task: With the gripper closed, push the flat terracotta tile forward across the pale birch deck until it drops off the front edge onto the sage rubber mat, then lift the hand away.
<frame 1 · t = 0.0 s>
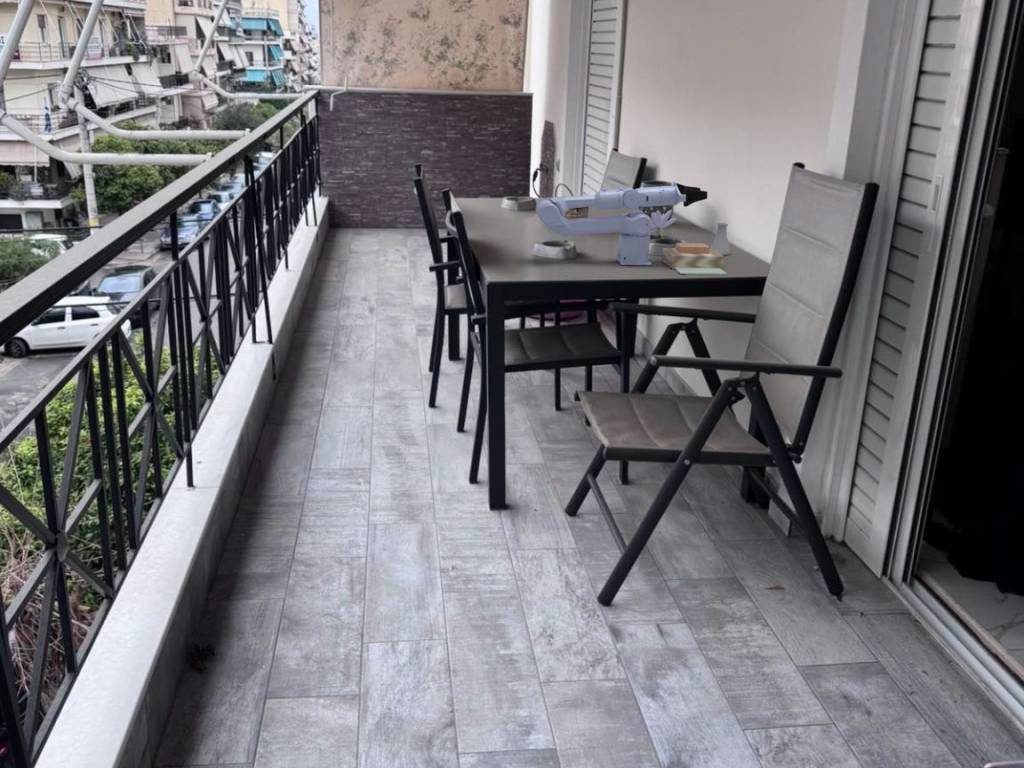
hand: (703, 193, 278), 22 cm above the table, tool horizontal, fingers open, 7 cm apart
mat: (700, 272, 274), on the table
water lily: (655, 238, 325), on the table
deck: (691, 265, 283), on the table
tile: (692, 251, 283), point 4 cm above the table, touching deck
flask: (719, 254, 301), on the table
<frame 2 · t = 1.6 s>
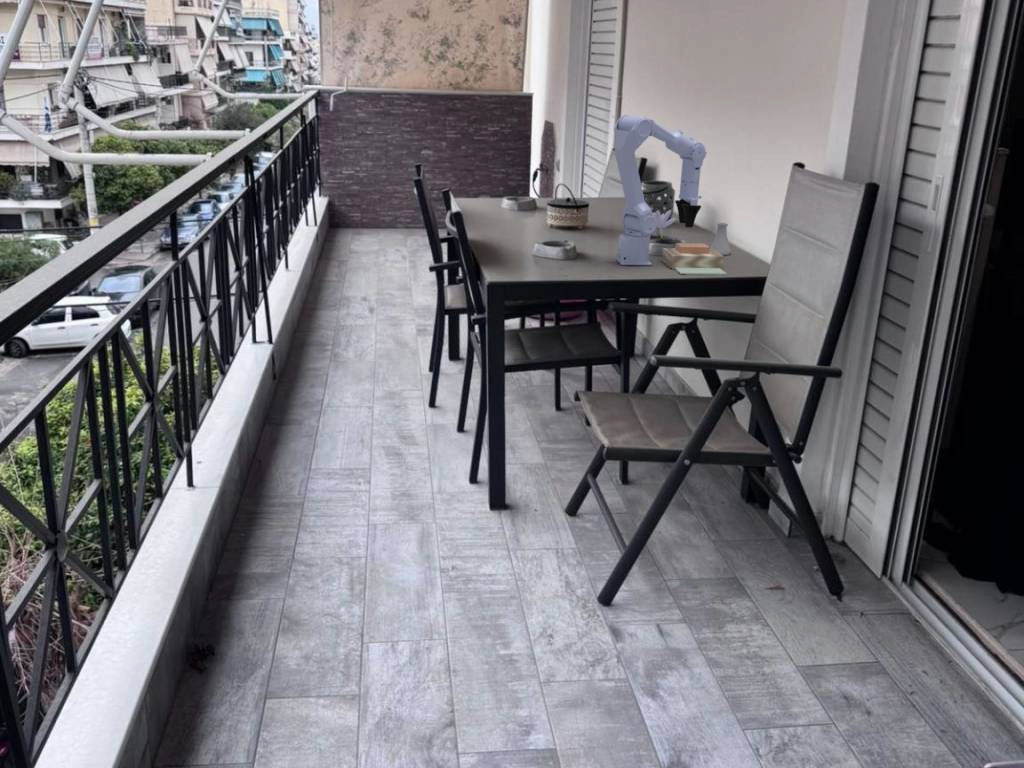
hand: (685, 225, 290), 10 cm above the table, tool pointing down, fingers open, 7 cm apart
nothing on the table moved.
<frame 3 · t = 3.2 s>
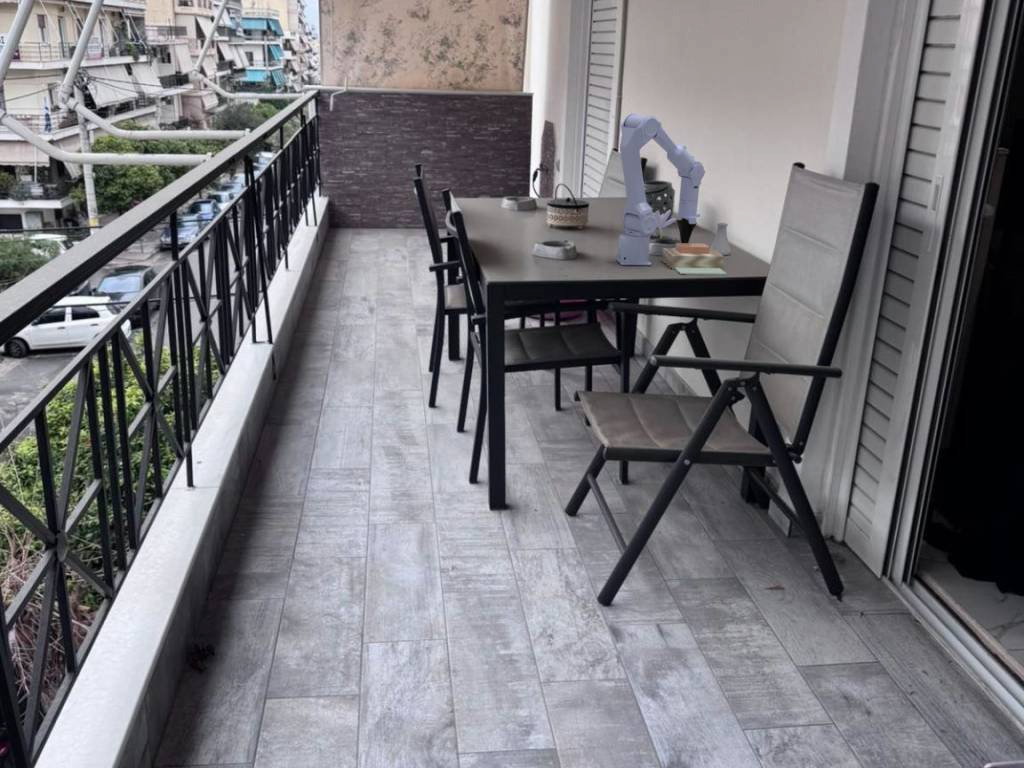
hand: (684, 243, 291), 5 cm above the table, tool pointing down, fingers closed
nothing on the table moved.
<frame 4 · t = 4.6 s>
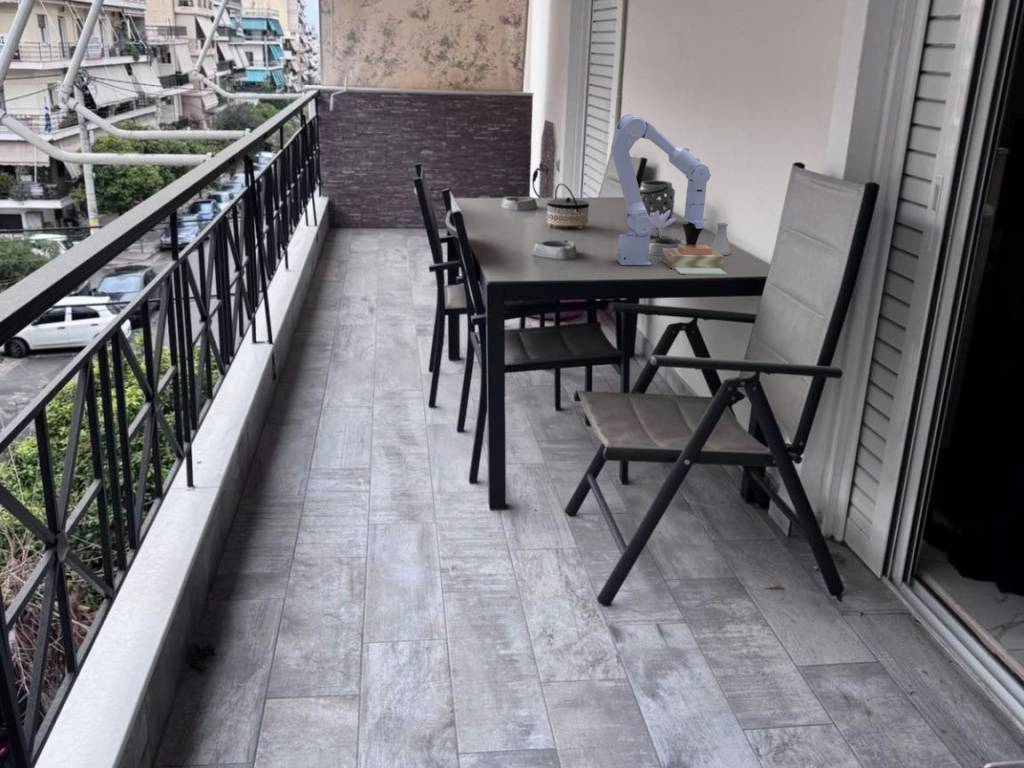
hand: (690, 247, 284), 5 cm above the table, tool pointing down, fingers closed
tile: (694, 252, 281), point 4 cm above the table, touching gripper
everything else where it was.
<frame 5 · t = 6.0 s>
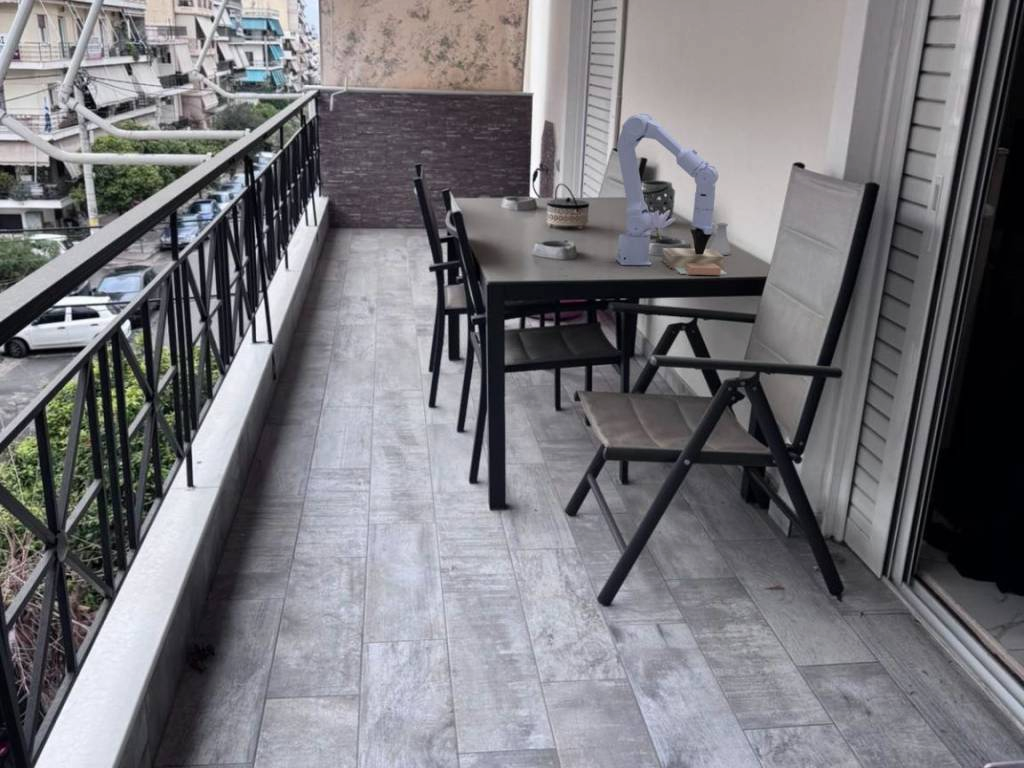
hand: (699, 254, 275), 5 cm above the table, tool pointing down, fingers closed
tile: (703, 265, 271), point 2 cm above the table, tilted 180°, touching mat
everything else where it was.
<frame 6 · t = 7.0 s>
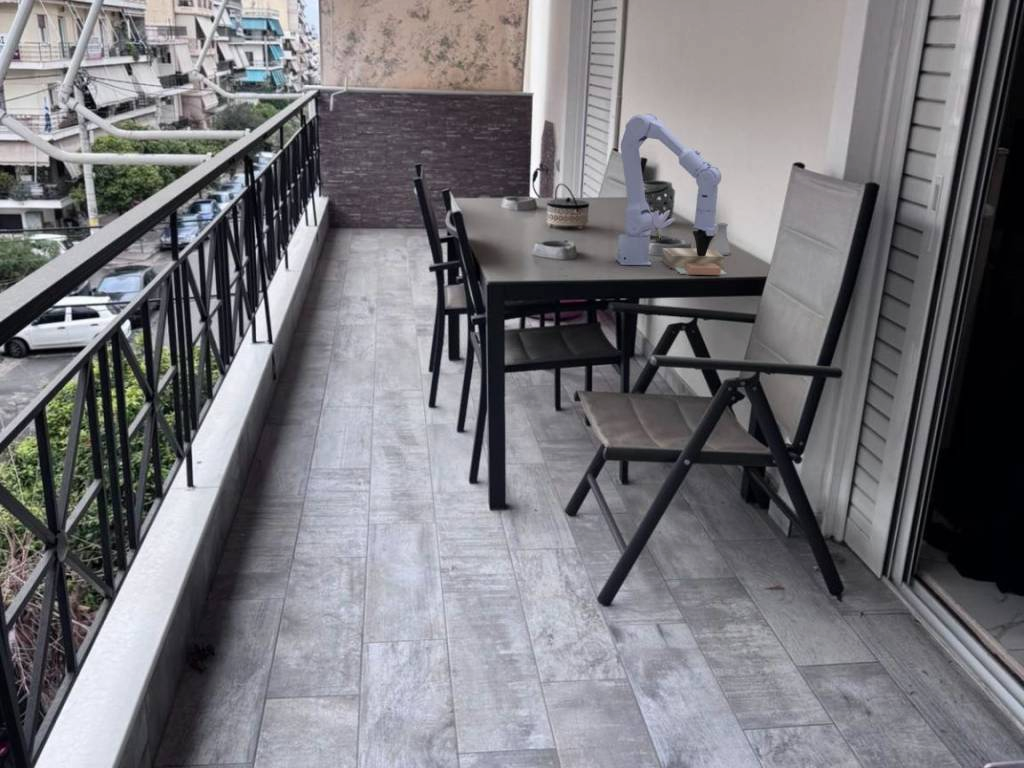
hand: (701, 255, 273), 5 cm above the table, tool pointing down, fingers closed
nothing on the table moved.
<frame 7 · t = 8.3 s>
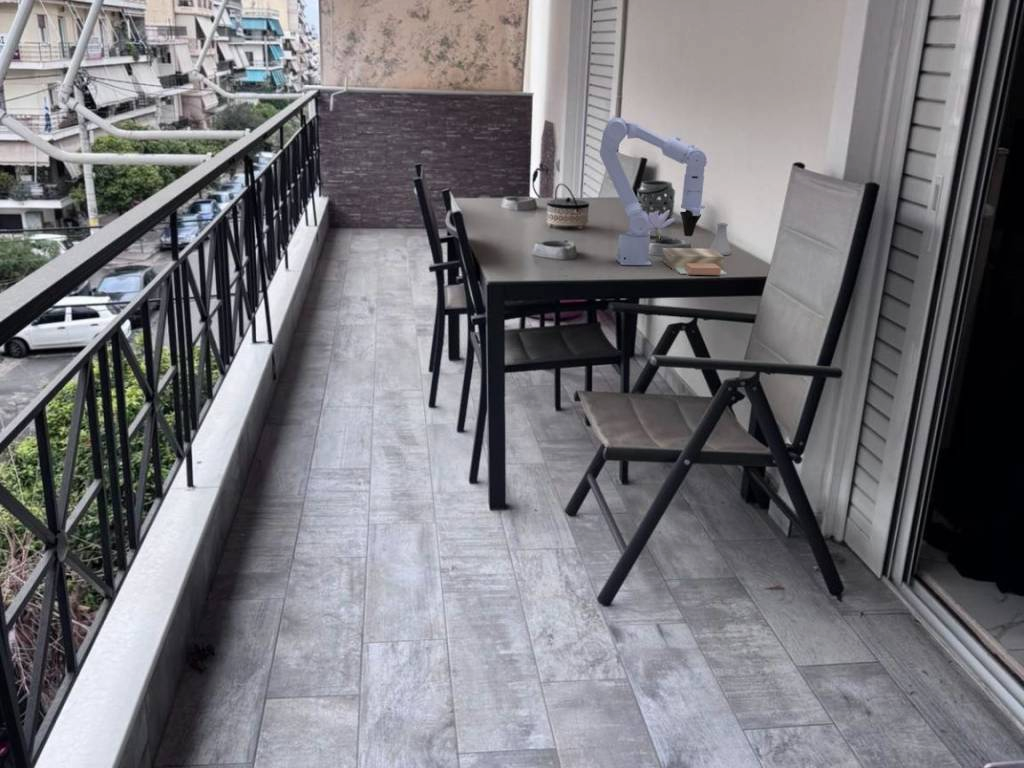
hand: (688, 235, 279), 9 cm above the table, tool pointing down, fingers closed
nothing on the table moved.
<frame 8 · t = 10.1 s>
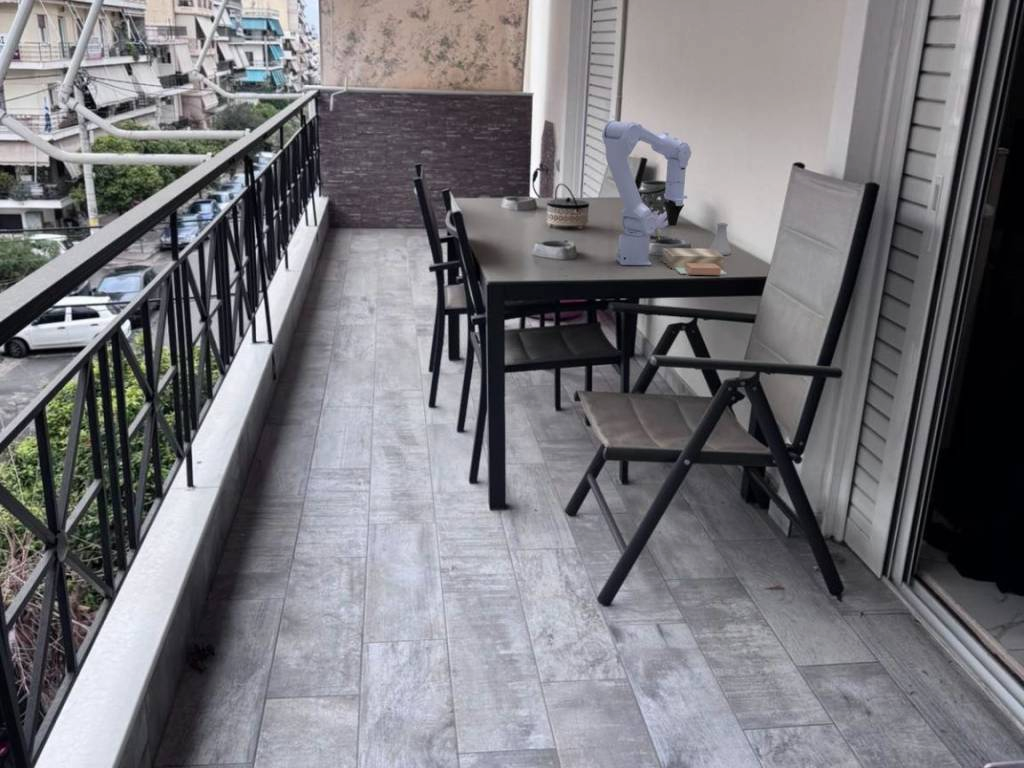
hand: (672, 225, 289), 10 cm above the table, tool pointing down, fingers closed
at the end: tile inside the target area (2.4 cm from its centre), point 2.5 cm above the table; tile touching mat; tile moved 13.2 cm from its start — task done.
